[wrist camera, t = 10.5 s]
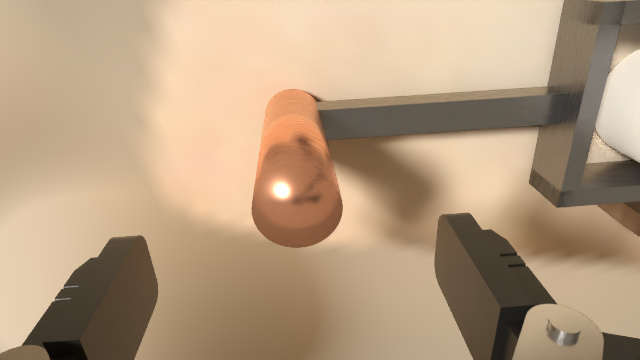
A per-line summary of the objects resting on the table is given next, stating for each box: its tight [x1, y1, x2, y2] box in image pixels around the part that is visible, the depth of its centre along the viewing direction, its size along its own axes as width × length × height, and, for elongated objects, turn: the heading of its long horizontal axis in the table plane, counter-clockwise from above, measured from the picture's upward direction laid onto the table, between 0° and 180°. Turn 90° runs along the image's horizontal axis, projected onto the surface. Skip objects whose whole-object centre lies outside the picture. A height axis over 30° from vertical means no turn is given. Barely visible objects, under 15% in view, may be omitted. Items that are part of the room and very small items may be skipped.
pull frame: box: [252, 0, 640, 248], centre depth 19 cm, size 10×26×10 cm, turn 93°
